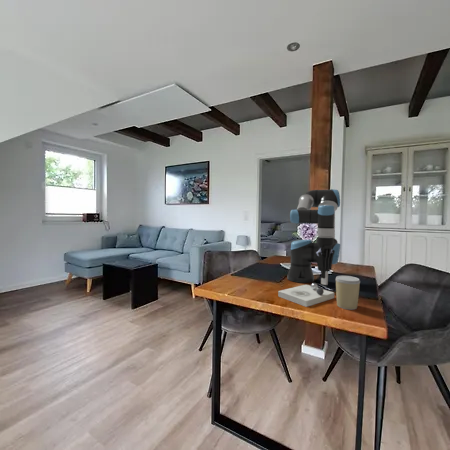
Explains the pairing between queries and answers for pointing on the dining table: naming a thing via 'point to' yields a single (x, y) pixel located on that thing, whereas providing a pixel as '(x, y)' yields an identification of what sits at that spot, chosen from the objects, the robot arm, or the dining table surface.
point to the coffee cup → (347, 292)
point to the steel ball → (314, 286)
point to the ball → (320, 291)
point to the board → (305, 295)
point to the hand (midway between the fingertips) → (324, 284)
